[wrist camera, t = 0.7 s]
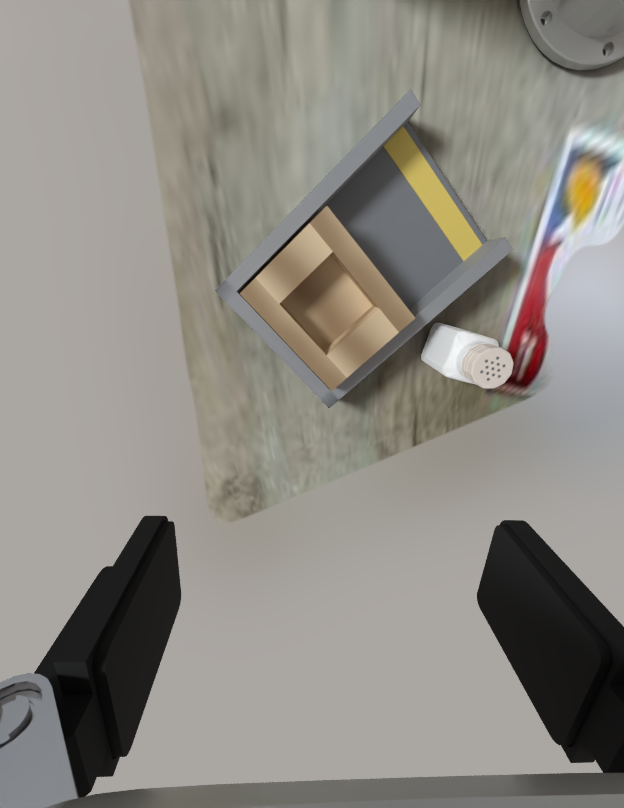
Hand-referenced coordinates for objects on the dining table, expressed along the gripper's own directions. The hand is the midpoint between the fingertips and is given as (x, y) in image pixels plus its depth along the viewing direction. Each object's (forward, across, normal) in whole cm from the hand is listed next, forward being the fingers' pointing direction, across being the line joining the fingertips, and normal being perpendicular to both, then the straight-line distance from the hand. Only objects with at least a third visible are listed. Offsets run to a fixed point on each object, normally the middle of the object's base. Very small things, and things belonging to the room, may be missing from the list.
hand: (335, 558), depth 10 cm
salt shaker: (+27, -14, -2) cm, 30 cm away
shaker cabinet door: (+25, -1, -5) cm, 26 cm away
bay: (+27, -4, -8) cm, 28 cm away
